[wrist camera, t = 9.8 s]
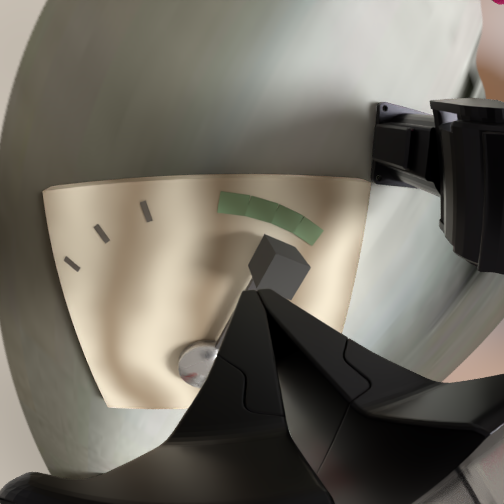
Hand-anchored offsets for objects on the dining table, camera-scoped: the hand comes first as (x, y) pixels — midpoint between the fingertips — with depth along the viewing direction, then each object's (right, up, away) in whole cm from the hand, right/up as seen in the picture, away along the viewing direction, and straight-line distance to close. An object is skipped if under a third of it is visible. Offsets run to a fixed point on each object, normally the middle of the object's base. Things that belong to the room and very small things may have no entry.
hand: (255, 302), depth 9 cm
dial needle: (-2, -4, +14) cm, 14 cm away
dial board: (-3, -3, +15) cm, 16 cm away
